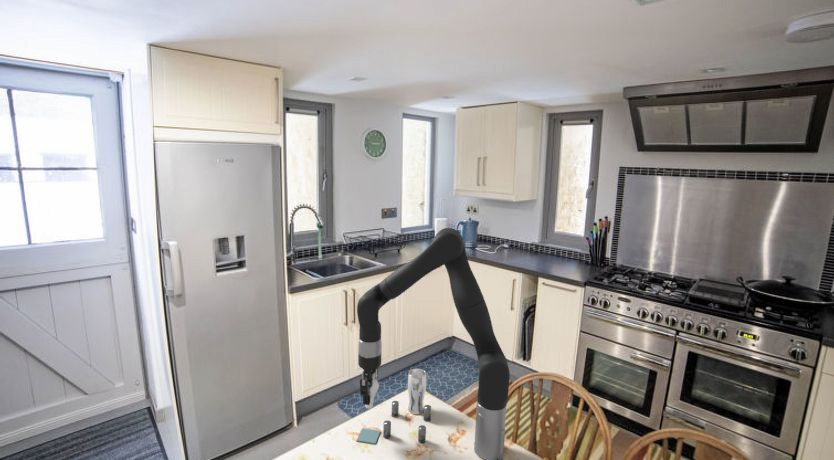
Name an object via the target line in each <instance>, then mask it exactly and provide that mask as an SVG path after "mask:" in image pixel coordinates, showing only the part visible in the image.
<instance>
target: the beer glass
mask: <svg viewBox="0 0 834 460" xmlns="http://www.w3.org/2000/svg"><path fill="white" fill-rule="evenodd" d="M426 390H427V372H426V370H424V369H422V368H412V369H410V370H409V371H408V374H407V392H408V397H409V398H408V400H409V402H408V407H407V410H408V412H409V413H410V414H412V415H421V414H424V406H425V405H424V399H425V395H426Z"/></svg>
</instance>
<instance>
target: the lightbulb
mask: <svg viewBox="0 0 834 460" xmlns="http://www.w3.org/2000/svg"><path fill="white" fill-rule="evenodd" d="M368 384H371V382H370V383H368ZM379 387H380V386H379V381H378V380H377V379H375V378H374V379H373V386H372V387H371V393H370V404H369V405H364V407H365V408H366V409H368V410H370V409H372V408H373V407H374V401H375V397H376V395H377V393H378V391H379Z"/></svg>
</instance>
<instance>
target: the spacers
mask: <svg viewBox="0 0 834 460" xmlns="http://www.w3.org/2000/svg"><path fill="white" fill-rule="evenodd" d="M399 406H400V403H399V401H397V400H392V402H391V417H393V418H398V417H399V412H400V411H399V408H400V407H399ZM431 419H432V406H431V405H430V404H425V405H424V412H423V421H424V422H427V423H428V422H431ZM382 429H383V430H382V431H383V438H384V439H386V440H387V439H390V438H391V437H392V434H391V433H392V432H391V431H392V422H391V420H384V421H383V428H382ZM417 430H418V431H417V436H418V437H417V442H418V443H419V444H421V445H423V444H426V438H427V427H426V425H421V424H420V425H419V426H418V429H417Z"/></svg>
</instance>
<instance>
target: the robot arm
mask: <svg viewBox="0 0 834 460" xmlns="http://www.w3.org/2000/svg"><path fill="white" fill-rule="evenodd" d="M467 256H468V255H467V252H466V248H465V244H464V239H463V237H462V235H461V233H460V232H459V231H458V230H456V229H455V228H451V227H445V228H441V230H439V231H438V232H437V233H436V234H435V236H434V238H433V240H432V241H431V243H430V244H428V245H427V246H426V248H425V249H424V250H423V251H421V253H419V255H417V256H416V257H414V258H413V259H411V260H410V261H408V262H407V263H405V264H403V265H401V266H400V267H399V268H397V269H395V270H394V271H393V272H391V273H390V274H389V275H387V276H386V277H385V278H383V280H382V281H381V282H379V283H377V284H375V285H374V286H372V287H371V288H370V289H368V290H367V291H365V292H364V294H363V295H362V296H361V297H360V298H359V299H358V301H357V305H356V313H357V319H358V320H357V321H358V325H359V328H358V329H359V334H358V335H359V339H358V340H359V341H358V352H357V353H358V355H357V358H358V362H357V364H358V366H359V368H361V369H362V370H363V371H362V374H361V376H362V377H361V378H360V379H359V388H360V389H359V390H360V391H359V392H360V396H362V404H363V405H364V406H365V405H369V404H370V393H371V387H372V386H373V379H374V378H375V379H376V380H377V379H378V378H379V368H380V367H381V366H382V352H383V351H382V347H383V346H382V344H383V343H382V324H381V321H380V320H379V311H380V309H381V308H382V307H383V306H385V305H386V304H387V303H388V302H389V301H391V300H394V299H396V298H398V297H399V296H401V295H402V294H403V293H405V292H406V291H407V290H409V289H410V288H411V287H413V286H414V285H415V284H416V283H417V282H419V281H420V280H422V279H423V278H424V277H426V276H427V275H428V274H430V273H432V272H433V271H435V270H436V269H438V268H440V267H442V266H445V269H446V272H447V274H448V278H449V284H450V289H451V290H450V291H451V296H452V299H453V303H454V307H455V309H456V312H457V315H458V317H459V320H460V322H461V323H462V325H463V327H464V329H465V330H466V332H467V333H468V335H469V336H470V339H471V340H472V343H473V346H474V349H475V353H476V356H477V361H478V385H477V386H478V387H477V389H478V390H477V393H476V411H475V412H476V413H475V427H474V428H475V432H474V443H473V445H474V448H473V449H474V453H475V455H477V457H479V458H481V459H483V460H497V459H498V460H503V459H504V453H505V440H506V439H505V437H506V436H505V435H506V417H507V415H506V414H507V402H508V399H509V389H510V378H511V375H510V373H511V372H510V367H509V364H508V363H509V362H508V360H507V357H506V356H505V353H504V351H503V349H502V348H501V345H500V344H499V341H498V340H497V337H496V334H495V332H494V328H493V324H492V320H491V315H490V312H489V309H488V306H487V303H486V299H485V297H484V294H483V293H482V291H481V287H480V286H479V283H478V281H477V279H476V277H475V274H474V273H473V270H472V268H471V266H470V263H469V260H468V257H467ZM370 382H371V384H368V383H370ZM500 458H501V459H500ZM502 458H503V459H502Z"/></svg>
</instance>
